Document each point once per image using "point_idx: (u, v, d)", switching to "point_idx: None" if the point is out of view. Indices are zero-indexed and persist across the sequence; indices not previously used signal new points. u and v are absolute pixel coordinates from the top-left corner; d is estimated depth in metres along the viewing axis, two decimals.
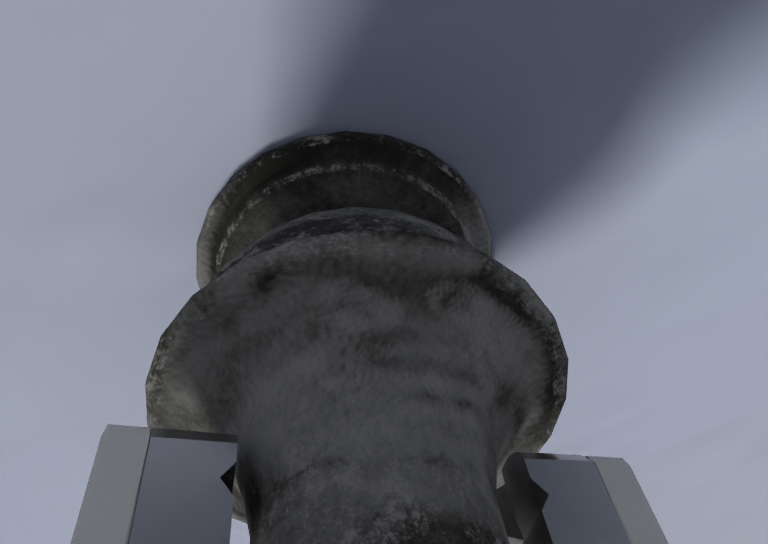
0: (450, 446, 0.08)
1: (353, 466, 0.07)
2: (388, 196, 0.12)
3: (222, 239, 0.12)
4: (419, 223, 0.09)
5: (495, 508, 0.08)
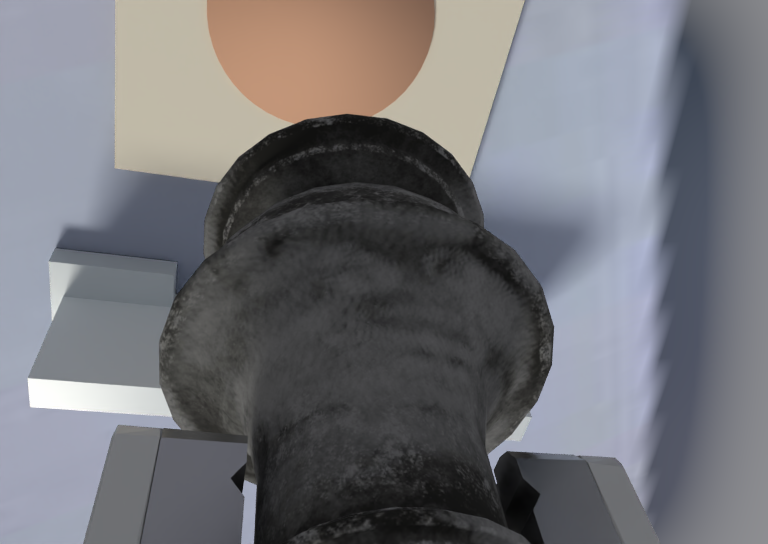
0: (444, 397, 0.09)
1: (353, 411, 0.08)
2: (386, 176, 0.12)
3: (229, 215, 0.13)
4: (417, 197, 0.10)
5: (484, 454, 0.09)
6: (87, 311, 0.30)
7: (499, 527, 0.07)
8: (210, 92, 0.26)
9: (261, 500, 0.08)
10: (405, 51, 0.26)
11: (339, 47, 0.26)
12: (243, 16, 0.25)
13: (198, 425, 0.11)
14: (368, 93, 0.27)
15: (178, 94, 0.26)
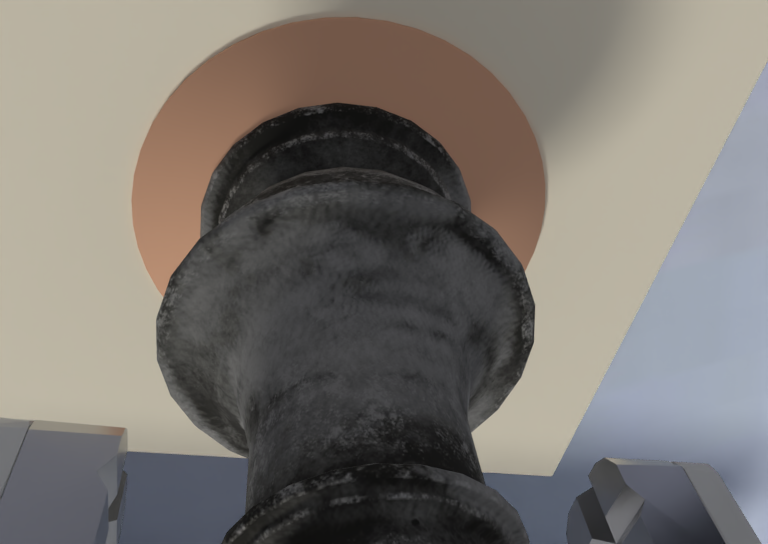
0: (426, 367, 0.09)
1: (340, 378, 0.08)
2: (377, 162, 0.13)
3: (224, 201, 0.13)
4: (402, 180, 0.11)
5: (464, 421, 0.09)
6: None
7: (473, 481, 0.07)
8: (147, 335, 0.15)
9: (252, 463, 0.09)
10: None
11: None
12: (200, 221, 0.14)
13: (194, 400, 0.11)
14: None
15: (90, 340, 0.15)
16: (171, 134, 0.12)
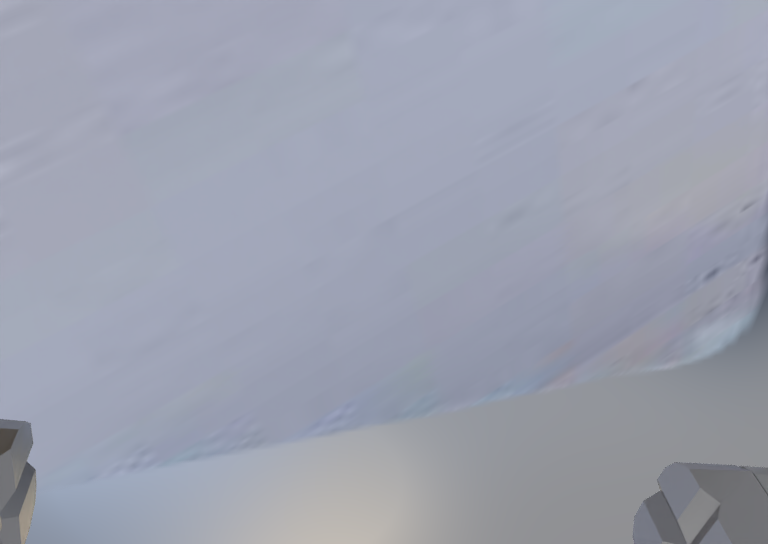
0: None
1: None
2: None
3: None
4: None
5: None
6: None
7: None
8: None
9: None
10: None
11: None
12: None
13: None
14: None
15: None
16: None
